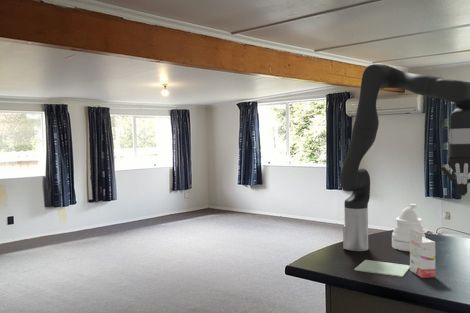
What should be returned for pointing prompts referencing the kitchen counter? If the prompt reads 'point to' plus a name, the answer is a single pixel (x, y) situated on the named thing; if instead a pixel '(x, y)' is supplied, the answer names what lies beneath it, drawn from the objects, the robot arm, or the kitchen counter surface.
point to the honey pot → (406, 228)
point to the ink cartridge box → (422, 255)
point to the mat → (383, 268)
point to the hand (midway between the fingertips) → (462, 195)
